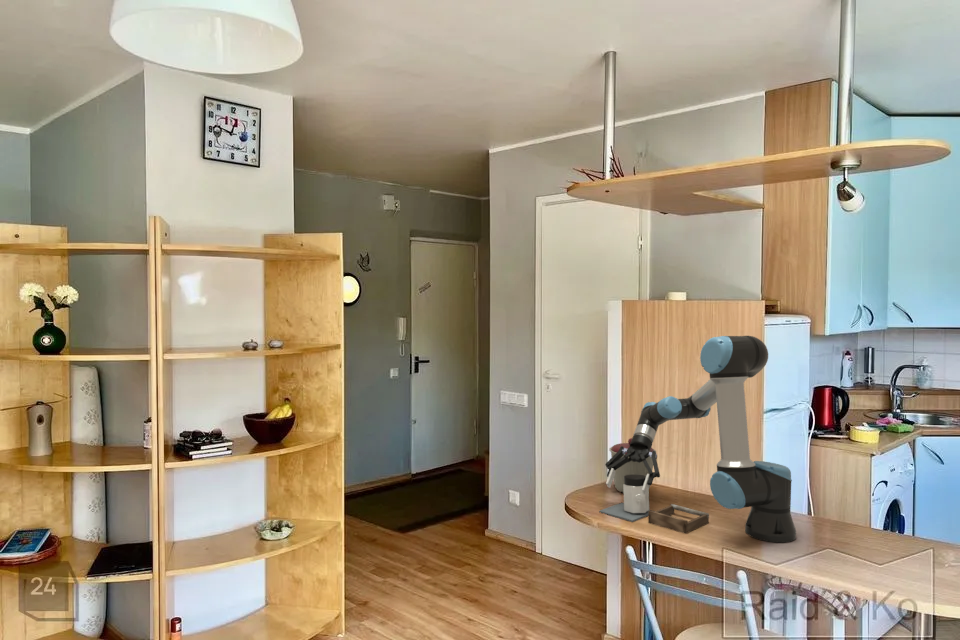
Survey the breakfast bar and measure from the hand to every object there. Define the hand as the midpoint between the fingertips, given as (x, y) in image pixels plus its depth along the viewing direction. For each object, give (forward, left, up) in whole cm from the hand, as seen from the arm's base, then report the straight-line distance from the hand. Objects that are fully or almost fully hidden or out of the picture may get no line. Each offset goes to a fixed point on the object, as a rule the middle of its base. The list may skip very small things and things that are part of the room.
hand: (625, 488), depth 235 cm
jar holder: (-18, -5, -9) cm, 21 cm away
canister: (+14, -25, -9) cm, 30 cm away
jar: (-2, -3, -8) cm, 9 cm away
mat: (0, -1, -9) cm, 9 cm away
